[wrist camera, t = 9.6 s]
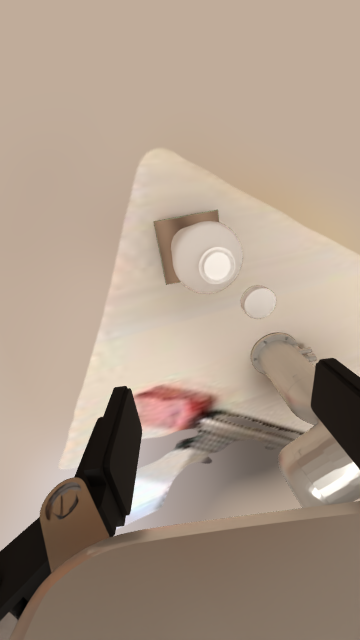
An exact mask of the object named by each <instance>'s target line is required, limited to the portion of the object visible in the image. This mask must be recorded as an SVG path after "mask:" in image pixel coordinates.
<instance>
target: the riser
mask: <svg viewBox="0 0 360 640" xmlns="http://www.w3.org/2000/svg"><path fill="white" fill-rule="evenodd" d="M204 221H214V222H219V216H218V210H213V211H207V212H202V213H197V214H191V215H186V216H180V217H175V218H169V219H164V220H159V221H154V226H155V231H156V236H157V241H158V246H159V251H160V256H161V262H162V267H163V272H164V277H165V282H166V285H167V284H173V283H179V282H180V280H179V279H178V277H177V275H176V273H175V271H174V267H173V261H172V251H171V242H172V239H173V237H174V235H175V234H176V233H177V232H178V231H179V230H181V229H182V228H185V227H188V226H191V225H194V224H196V223H199V222H204Z"/></svg>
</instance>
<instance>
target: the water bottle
mask: <svg viewBox="0 0 360 640" xmlns="http://www.w3.org/2000/svg"><path fill="white" fill-rule="evenodd" d="M171 251H172V261H173V267H174V271H175V273H176V275H177V277H178V279H179V280H180V282H181V283H182V284H183V285H184V286H186V287H187V288H188V289H190V290H192V291H194V292H197V293H203V294H210V293H215V292H218V291H221V290H223V289H225V288H226V287H228V286H229V285H230V284H231V283H232V282H233V281H234V280H235V278H236V277H237V275H238V273H239V271H240V269H241V265H242V259H243V253H242V247H241V244H240V241H239V239H238V237H237V236H236V234H235V233H234V232H233V231H232V230H231V229H230V228H228V227H227V226H225V225H224V224H221V223H219V222H214V221H204V222H199V223H196V224H194V225H191V226H188V227H185V228H182V229H181V230H179V231H178V232H177V233H176V234H175V235H174V237H173V239H172V242H171ZM275 306H276V297H275V295H274V293H273V292H272V291H271V290H269V289H268V288H266V287H264V286H261V285H256V286H252V287H250V288H248V289H247V290H246V291H245V292H244V293H243V295H242V297H241V307H242V309H243V311H244V312H245V313H246V314H247V315H248V316H250V317H251V318H254V319H261V318H264V317H266V316H268V315H269V314H271V313H272V311H273V310H274V308H275Z"/></svg>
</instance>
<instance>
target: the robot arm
mask: <svg viewBox="0 0 360 640" xmlns="http://www.w3.org/2000/svg"><path fill="white" fill-rule="evenodd" d="M311 352H312V349H311V348H310V347H308V348H304V349H301V348H299V346H298V344H297V342H296V341H295V340H294V339H293V338H292V337H291V336H289V335H287V334H283V333H274V334H270V335H267V336H265V337H264V338H262V339H261V340H259V341H258V342H257V343H256V345H255V346H254V348H253V350H252V353H251V361H252V364H253V366H254V367H255V369H256V370H257V371H259V372H260V373H262V374H266V375H267V376H268V377H269V379H270V380H271V382H272V383H273V385H274V386H275V388H276V389H277V391H278V392H279V393H280V395H281V396H282V398H283V399H284V401H285V402H286V404H287V405H288V406H289V408H290V409H291V411H292V412H293V413H294V414H295V415H296V416H297V417H299V418H300V419H302V420H303V421H305V422H307V423H310V424H313V425H315V426H313V427H312V428H311V429H310V430H309V431H307V432H306V433H304V434H303V435H301V436H300V437H298V438H297V439H295V440H294V441H292V442H291V443H290V444H288V445H287V446H286V447H284V448H283V449H282V450H281V452H280V453H279V456H278V462H279V467H280V470H281V472H282V474H283V476H284V478H285V480H286V482H287V483H288V485H289V487H290V488H291V490H292V492H293V494H294V495H295V497H296V499H297V500H298V502H299V503H300V505H301V507H302V508H299V509H292V510H283V511H276V512H267V513H259V514H251V515H244V516H236V517H229V518H221V519H213V520H206V521H198V522H191V523H184V524H176V525H171V526H163V527H158V528H151V529H144V530H138V531H134V532H130V533H125V534H120V535H117V536H114V535H115V531H116V527H119V526H124V524H125V518H126V515H129V514H130V511H131V505H132V498H133V491H134V485H135V478H136V471H137V464H138V457H139V450H140V443H141V437H142V427H141V423H140V419H139V416H138V412H137V409H136V405H135V402H134V398H133V394H132V391H131V389H130V388H129V389H128V388H127V386H122V387H115V388H114V389H113V392H112V395H111V397H110V400H109V403H108V405H107V408H106V411H105V414H104V416H103V417H100V418H98V420H97V422H96V424H95V427H94V429H93V432H92V434H91V437H90V439H89V442H88V444H87V447H86V449H85V452H84V454H83V457H82V459H81V462H80V464H79V467H78V469H77V472H76V474H75V477H74V478H70V479H67V480H65V481H63V482H61V483H60V484H58V485H57V486H56V487H55V488H54V489H53V490H52V491H51V492H50V493H49V494H48V496H47V497H46V499H45V500H44V502H43V504H42V507H41V510H40V517H39V518H38V519H37V520H36V521H35V522H33V523H32V524H31V525H30V526H29V527H28V528H27V529H26V530H25V531H23V532H22V533H21V534H20V535H19V536H18V537H16V538H15V539H14V540H13V541H12V542H11V543H9V545H7V546H6V547H5V548H4V549H3V550H1V551H0V640H360V501H356V502H353V501H355V500H357V499H358V498H360V377H359V376H357V375H356V374H355V373H353V372H352V371H351V370H349V369H348V368H347V367H345V366H344V365H343V364H341V363H340V362H339V361H337V360H336V359H334V358H328V359H321V360H319V362H318V363H317V364H316V367H315V366H314V365H313V364H311V363H310V362H313V361H316V356H315V354H309V355H305V356H303V354H304V353H311ZM113 536H114V537H113Z"/></svg>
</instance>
